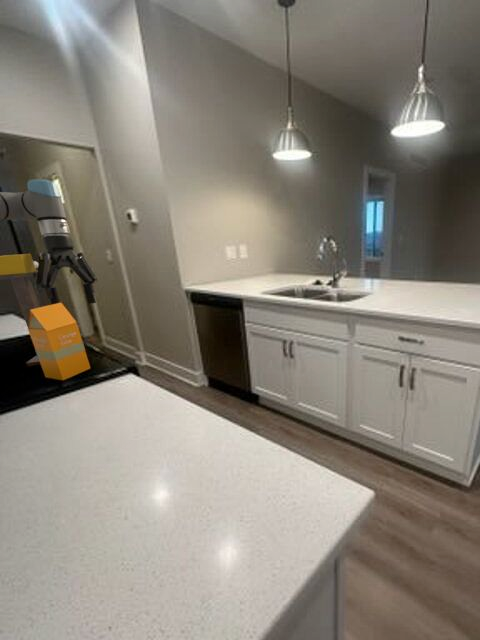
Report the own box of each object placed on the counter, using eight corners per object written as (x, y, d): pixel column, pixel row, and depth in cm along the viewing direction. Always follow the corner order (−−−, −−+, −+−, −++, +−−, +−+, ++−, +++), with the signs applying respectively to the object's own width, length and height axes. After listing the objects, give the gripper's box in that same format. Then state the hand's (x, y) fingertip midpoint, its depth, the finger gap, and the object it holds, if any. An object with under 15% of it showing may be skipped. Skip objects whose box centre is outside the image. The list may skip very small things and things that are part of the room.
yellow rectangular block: (-1, 275, 98) (-8, 257, 96) (23, 269, 111) (18, 253, 109) (27, 273, 99) (20, 255, 97) (48, 267, 112) (43, 251, 110)
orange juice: (44, 377, 99) (20, 309, 91) (73, 365, 106) (52, 301, 99) (63, 380, 96) (39, 310, 88) (91, 368, 103) (71, 302, 96)
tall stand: (27, 366, 108) (-8, 275, 97) (36, 359, 114) (4, 273, 103) (62, 362, 110) (32, 272, 99) (69, 355, 116) (42, 270, 105)
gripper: (25, 232, 94) (48, 311, 100) (98, 236, 116) (113, 300, 122) (6, 235, 96) (30, 312, 102) (81, 238, 118) (97, 301, 124)
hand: (75, 306), depth 112 cm, fingers open, 12 cm apart
